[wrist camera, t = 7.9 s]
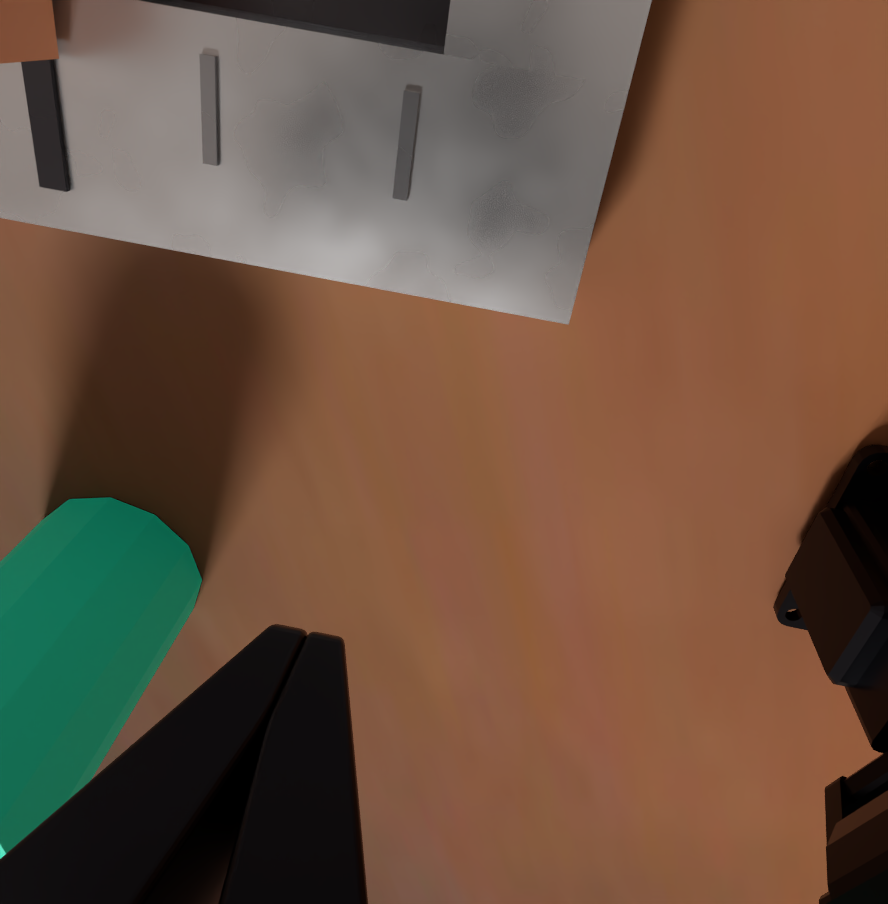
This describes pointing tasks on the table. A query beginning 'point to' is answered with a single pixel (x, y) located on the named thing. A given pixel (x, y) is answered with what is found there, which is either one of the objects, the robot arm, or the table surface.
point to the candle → (80, 646)
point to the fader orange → (27, 31)
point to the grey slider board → (332, 137)
